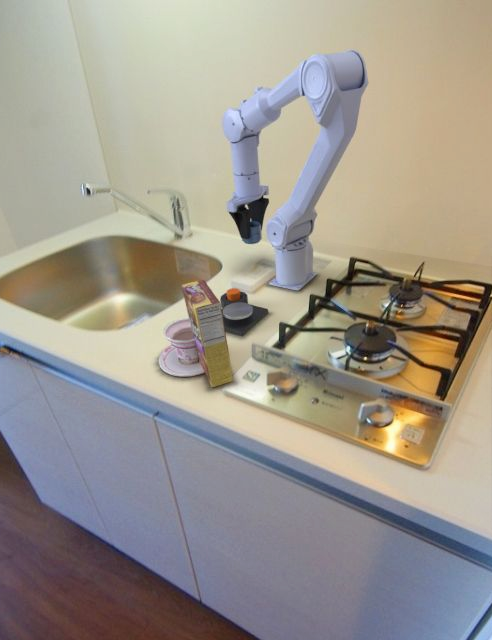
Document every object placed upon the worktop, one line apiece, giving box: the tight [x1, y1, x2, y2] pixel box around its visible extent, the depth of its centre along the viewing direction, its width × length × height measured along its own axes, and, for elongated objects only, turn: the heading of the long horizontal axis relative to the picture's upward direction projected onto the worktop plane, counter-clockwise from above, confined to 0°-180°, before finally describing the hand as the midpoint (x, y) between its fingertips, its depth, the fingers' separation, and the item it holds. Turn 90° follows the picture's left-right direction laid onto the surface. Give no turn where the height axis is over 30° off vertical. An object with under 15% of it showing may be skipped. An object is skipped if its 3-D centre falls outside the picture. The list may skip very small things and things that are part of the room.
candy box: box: [181, 279, 234, 388], centre depth 70 cm, size 9×4×15 cm, turn 21°
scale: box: [219, 290, 269, 337], centre depth 88 cm, size 11×10×3 cm
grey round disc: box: [222, 302, 253, 320], centre depth 85 cm, size 6×6×1 cm
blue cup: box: [241, 220, 263, 245], centre depth 103 cm, size 5×5×4 cm
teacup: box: [158, 317, 205, 378], centre depth 77 cm, size 12×12×6 cm
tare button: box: [226, 287, 241, 301], centre depth 90 cm, size 3×3×2 cm
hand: (251, 234), depth 103 cm, fingers closed on blue cup, 5 cm apart
